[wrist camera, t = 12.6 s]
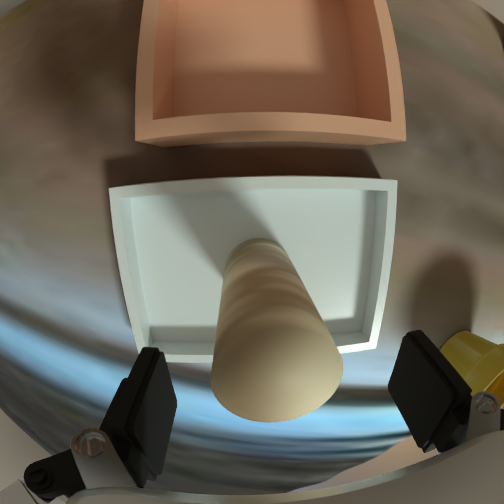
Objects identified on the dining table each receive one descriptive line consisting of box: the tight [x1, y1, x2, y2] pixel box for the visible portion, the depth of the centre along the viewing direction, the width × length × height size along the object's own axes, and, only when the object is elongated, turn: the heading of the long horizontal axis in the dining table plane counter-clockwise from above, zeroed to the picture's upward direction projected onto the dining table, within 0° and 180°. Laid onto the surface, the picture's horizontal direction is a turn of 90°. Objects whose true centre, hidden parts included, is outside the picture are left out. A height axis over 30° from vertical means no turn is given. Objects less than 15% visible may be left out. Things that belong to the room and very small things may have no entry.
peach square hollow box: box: [135, 0, 406, 147], centre depth 14 cm, size 15×15×6 cm
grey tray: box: [109, 175, 397, 363], centre depth 21 cm, size 20×14×2 cm
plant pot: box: [439, 331, 504, 408], centre depth 22 cm, size 10×10×10 cm
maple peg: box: [211, 238, 343, 422], centre depth 15 cm, size 5×5×12 cm
